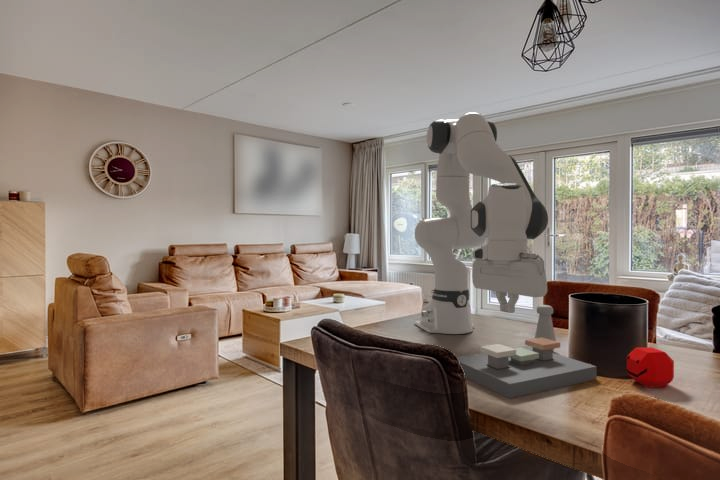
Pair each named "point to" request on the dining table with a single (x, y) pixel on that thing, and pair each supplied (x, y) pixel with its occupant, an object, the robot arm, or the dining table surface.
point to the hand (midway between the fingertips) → (507, 311)
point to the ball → (650, 367)
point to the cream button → (498, 355)
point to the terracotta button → (543, 347)
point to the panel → (527, 374)
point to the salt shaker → (545, 323)
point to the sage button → (523, 356)
